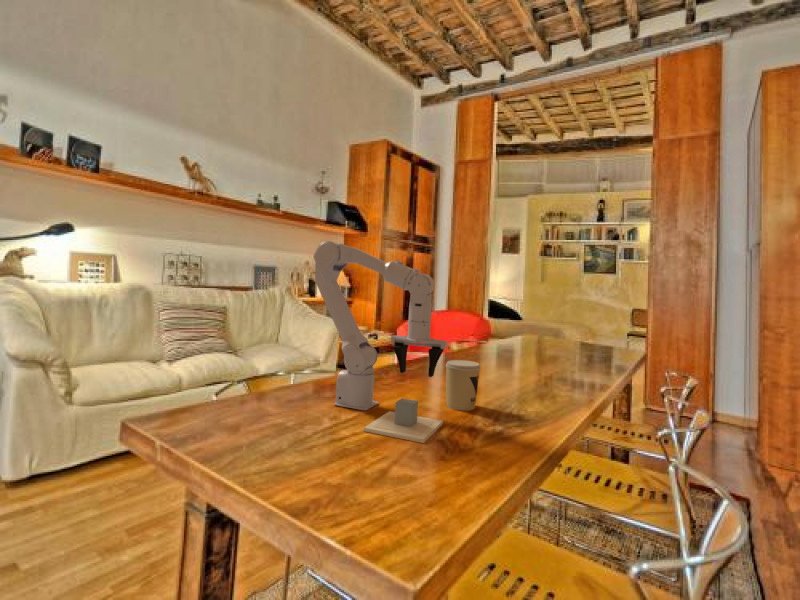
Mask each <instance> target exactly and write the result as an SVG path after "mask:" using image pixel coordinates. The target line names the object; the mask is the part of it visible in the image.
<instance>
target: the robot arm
mask: <svg viewBox="0 0 800 600" xmlns="http://www.w3.org/2000/svg"><path fill="white" fill-rule="evenodd" d="M312 257H313V259H314V262H315V265H314V267H315V269H314V271H315V272H314V281H315V284H316V287H317V288H318V291H319V293H320V295H321V298H322V299H323V302H324V304H325V305H326V308H327V310H328V313H329V315H330V317H331V319H332V321H333V323H334V326H335V328H336V329H337V332H338V335H339V337H340V339H341V341H342V344H341V351H342V354H343V363H344V366H345V369H342V370H340V371H339V372H338V374H337V378H336V382H335V383H336V384H335V402H334V403H333V405H334V406H338V407H343V408H347V409H348V408H350V409H352V410H353V409H354V410H360V411H368V410H369V409H371V408H373V407H375V406H376V405H378V404H379V401H377V400H374V385H375V384H374V383H375V369H374V366H375V364H376V363H377V361H378V357H379V355H378V352H377V350H376V348H375V347H374V346H373V345H372V344H370V342H369V340H368V337H366V336H364V335H363V334H362V331H361V330H360V329H359V326H358V324H357V322H356V319H355V317H354V316H353V315H354V314H353V313H352V311H351V308H350V307H349V305H348V304H349V303H348V302H347V300H346V298H345V296H344V294H343V291H342V290H341V289H342V288H341V287H340V285H339V283H338V279H339V276H340V275H341V272H342V271H343V270H344V268H345V267H347V265H348V264H350V265H351V264H357V265H360V266H363V267H365V268H367V269H370V270H371V271H374V272H376V273H379V274H381V275H382V278H383V281H384V282H386V283H389V284H391V285H393V286H395V287H397V288H400V289H402V290H404V291H408V293H410V295H409V296H410V297H409V305H408V321H407V322H408V324H407V335H395V334H394V335H391V337H390V344H392V345H393V344H394V345H393V346H392V350H393V352H394V354H395V356H396V359H397V362H398V365H399V373H401V374H403V373H406V370H407V355H408V349H409V346H414V347H415V346H416V347H423V348H424V347H425V348H429V349H428V360H429V362H428V378H432V377H434V374H435V370H436V366H437V364H438V362H439V360H440V357H441V356H442V354H443V352H444V350H447V348H448V340H445V339H444V340H443V339H437V338H436V339H435V338H431V325H432V310H433V304H432V300H433V295H432V294H433V292H434V290H435V281H434V279H433V277H431V276H430V275H429V274H428V273H420V269H419V268H412V267H409V266H407V265H404V261H401V260H399V259H398V260H391V261H387V262H386V261H384V260H382V259H379V258H378V257H377V256H374V255H372V254H370V253H368V252H365V250H362V249H359V248H357V247H353V246H349V245H346V244H343V243H337V242H333V241H329V240H325V241H321V242H320V243H319V244H318V245H317V248H316V250H315V252H314V254H313V256H312Z"/></svg>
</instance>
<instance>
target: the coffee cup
mask: <svg viewBox="0 0 800 600" xmlns="http://www.w3.org/2000/svg"><path fill="white" fill-rule="evenodd" d="M445 367H446V368H445V373H446V374H445V385H446V387H445V388H446V389H445V391H446V399H445V400H446V407H447V408H449V409H452V410H456V411H472V410H474V409H475V408H476V402H477V401H476V400H477V393H478V387H479V379H480V370H481V366H480V363H478V362H477V361H473V360H465V359H451V360H448V361H446V363H445Z"/></svg>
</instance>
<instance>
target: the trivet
mask: <svg viewBox="0 0 800 600" xmlns="http://www.w3.org/2000/svg"><path fill="white" fill-rule="evenodd" d="M443 424H444V420H442V419H436V418H435V419H434V418H431V417H424V416H419V415H417V423H415V424H414V425H413V426H412V427H407V426H402V425H397V424H395V411H391V410H389V411H387V412H386V413H385V414H383V415H381V416H379V417H378V418H377V419H375V420H374V421H372V422H371V423H369V424H367V425H366V426H364V427H363V432H365V433H371V434H376V435H381V436H385V437H386V436H387V437H390V438H396V439H402V440H406V441H411V442H417V443H422V444H425V443H426V442H427V441H428V439H429V438H430V437H432V436H433V434H435V432H436V431H437V430H439V429H440V427H442V425H443Z"/></svg>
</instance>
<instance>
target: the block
mask: <svg viewBox="0 0 800 600" xmlns="http://www.w3.org/2000/svg"><path fill="white" fill-rule="evenodd" d="M418 409H419V400H414V399H408V398H400V399H399V400H398V401H396V402H395V408H394V412H395V424H397V425H402V426H407V427H412V426H413V425H414V424H415V423H417V416H418V411H419V410H418Z"/></svg>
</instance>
